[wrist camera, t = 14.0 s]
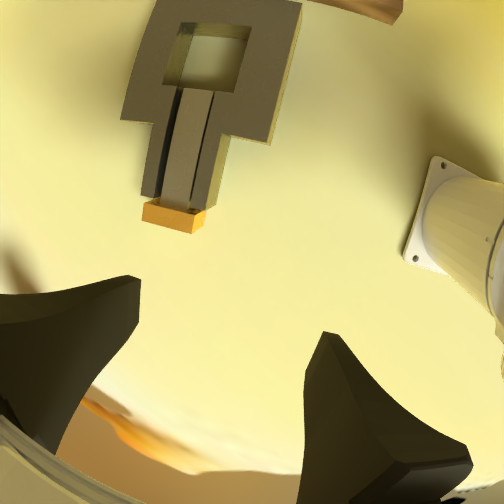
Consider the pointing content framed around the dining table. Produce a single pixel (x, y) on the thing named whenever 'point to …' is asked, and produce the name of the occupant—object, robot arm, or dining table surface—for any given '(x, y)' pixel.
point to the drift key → (182, 166)
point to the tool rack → (370, 8)
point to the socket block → (225, 103)
